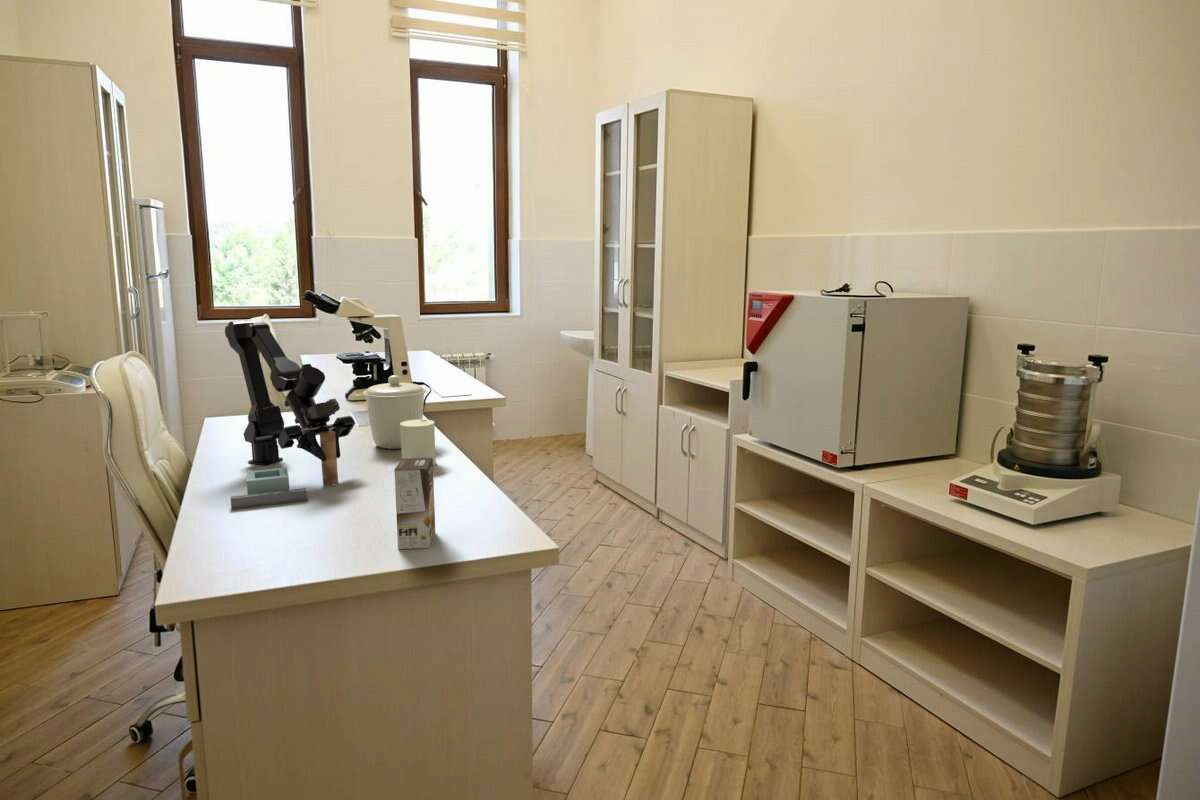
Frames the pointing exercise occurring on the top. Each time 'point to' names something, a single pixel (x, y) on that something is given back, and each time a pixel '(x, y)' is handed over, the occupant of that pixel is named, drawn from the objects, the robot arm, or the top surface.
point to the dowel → (329, 457)
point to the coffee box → (415, 503)
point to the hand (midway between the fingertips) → (332, 458)
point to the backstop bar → (268, 498)
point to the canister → (393, 409)
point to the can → (418, 439)
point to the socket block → (267, 480)
